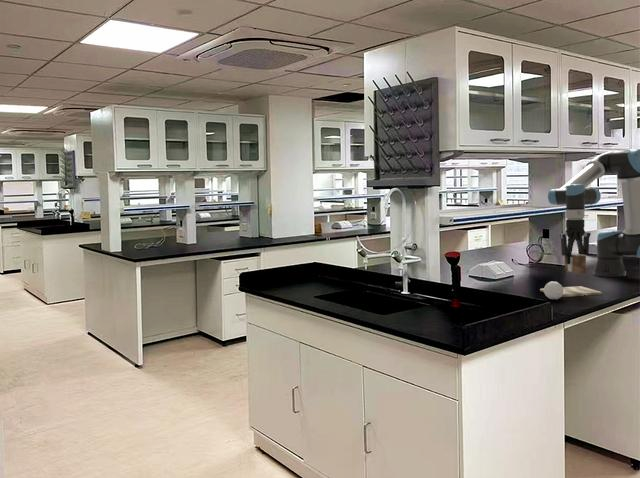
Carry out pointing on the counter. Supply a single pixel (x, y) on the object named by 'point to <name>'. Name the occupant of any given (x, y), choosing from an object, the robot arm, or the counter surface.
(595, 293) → the board
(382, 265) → the counter surface
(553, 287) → the geometric ball
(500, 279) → the counter surface
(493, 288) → the counter surface
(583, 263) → the wooden block
